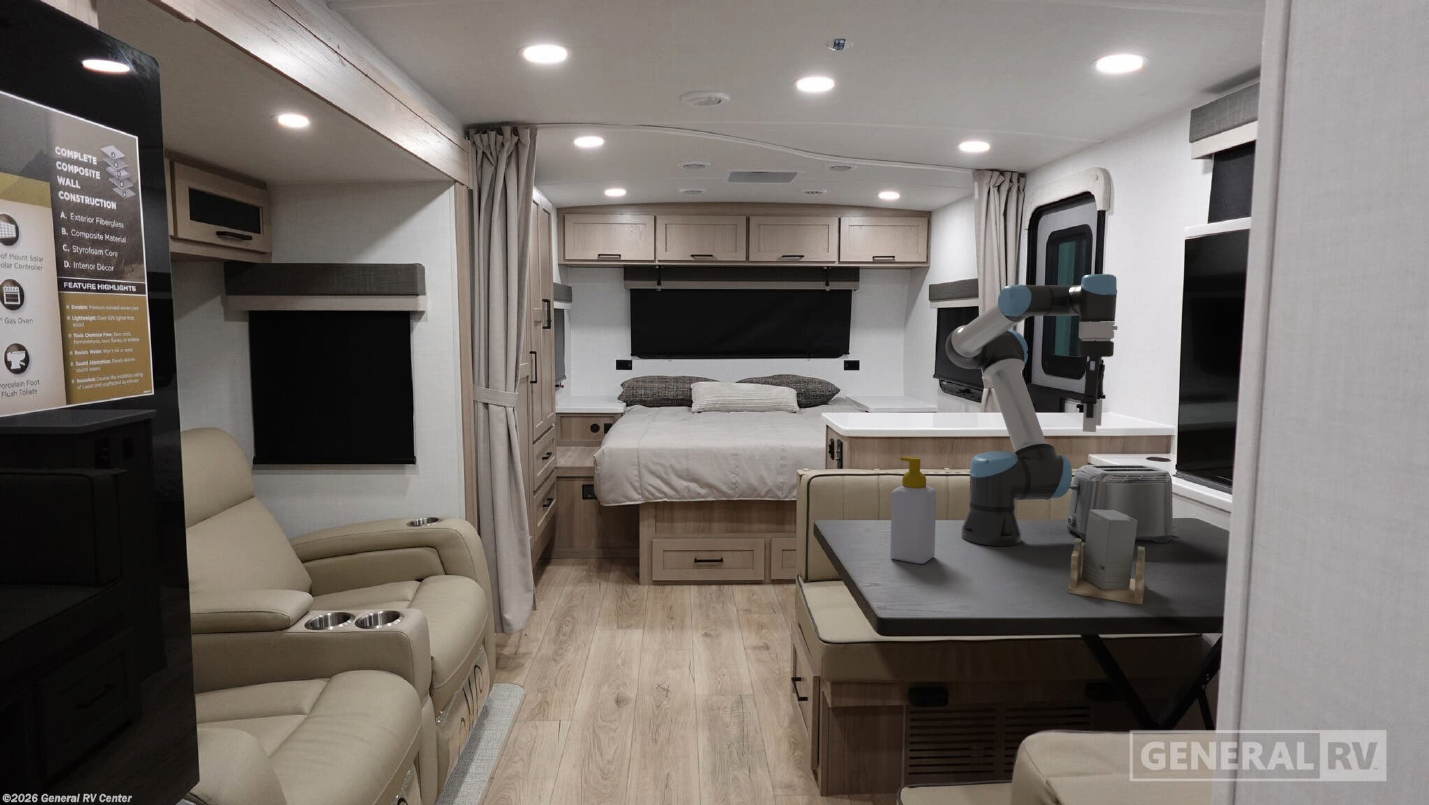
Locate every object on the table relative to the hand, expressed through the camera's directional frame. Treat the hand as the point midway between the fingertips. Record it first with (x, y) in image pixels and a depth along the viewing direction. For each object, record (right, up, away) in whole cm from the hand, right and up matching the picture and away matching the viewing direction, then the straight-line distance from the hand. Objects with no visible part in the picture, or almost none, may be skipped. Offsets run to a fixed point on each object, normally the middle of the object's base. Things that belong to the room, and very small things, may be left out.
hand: (1092, 428), depth 181 cm
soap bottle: (-42, -33, +6) cm, 53 cm away
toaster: (+20, -31, +24) cm, 44 cm away
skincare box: (-5, -34, -17) cm, 38 cm away
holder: (-5, -35, -17) cm, 39 cm away
